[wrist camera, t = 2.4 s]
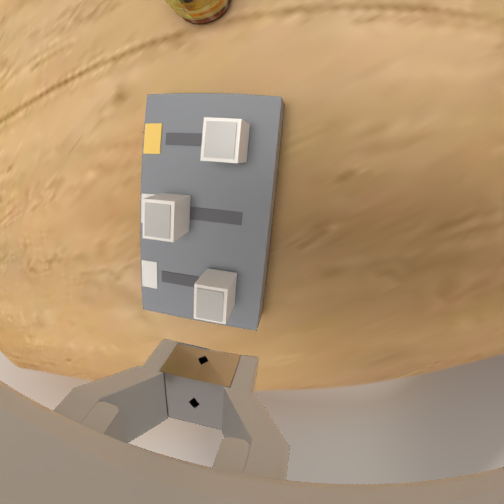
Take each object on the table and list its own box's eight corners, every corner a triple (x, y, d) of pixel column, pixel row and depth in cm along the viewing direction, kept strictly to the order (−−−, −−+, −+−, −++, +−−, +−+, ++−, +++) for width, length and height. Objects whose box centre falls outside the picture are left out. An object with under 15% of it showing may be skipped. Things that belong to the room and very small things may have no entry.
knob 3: (237, 272, 31) (227, 290, 27) (234, 304, 32) (225, 325, 28) (207, 268, 32) (193, 284, 28) (205, 300, 33) (192, 319, 29)
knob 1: (190, 195, 30) (173, 202, 26) (189, 231, 31) (172, 242, 27) (161, 192, 30) (141, 199, 26) (161, 227, 31) (141, 238, 27)
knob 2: (250, 123, 27) (241, 118, 23) (246, 162, 28) (236, 163, 24) (217, 121, 27) (203, 117, 23) (214, 159, 28) (199, 160, 24)
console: (284, 103, 30) (281, 96, 26) (261, 312, 37) (256, 331, 33) (162, 99, 31) (144, 94, 27) (155, 294, 38) (140, 309, 34)
